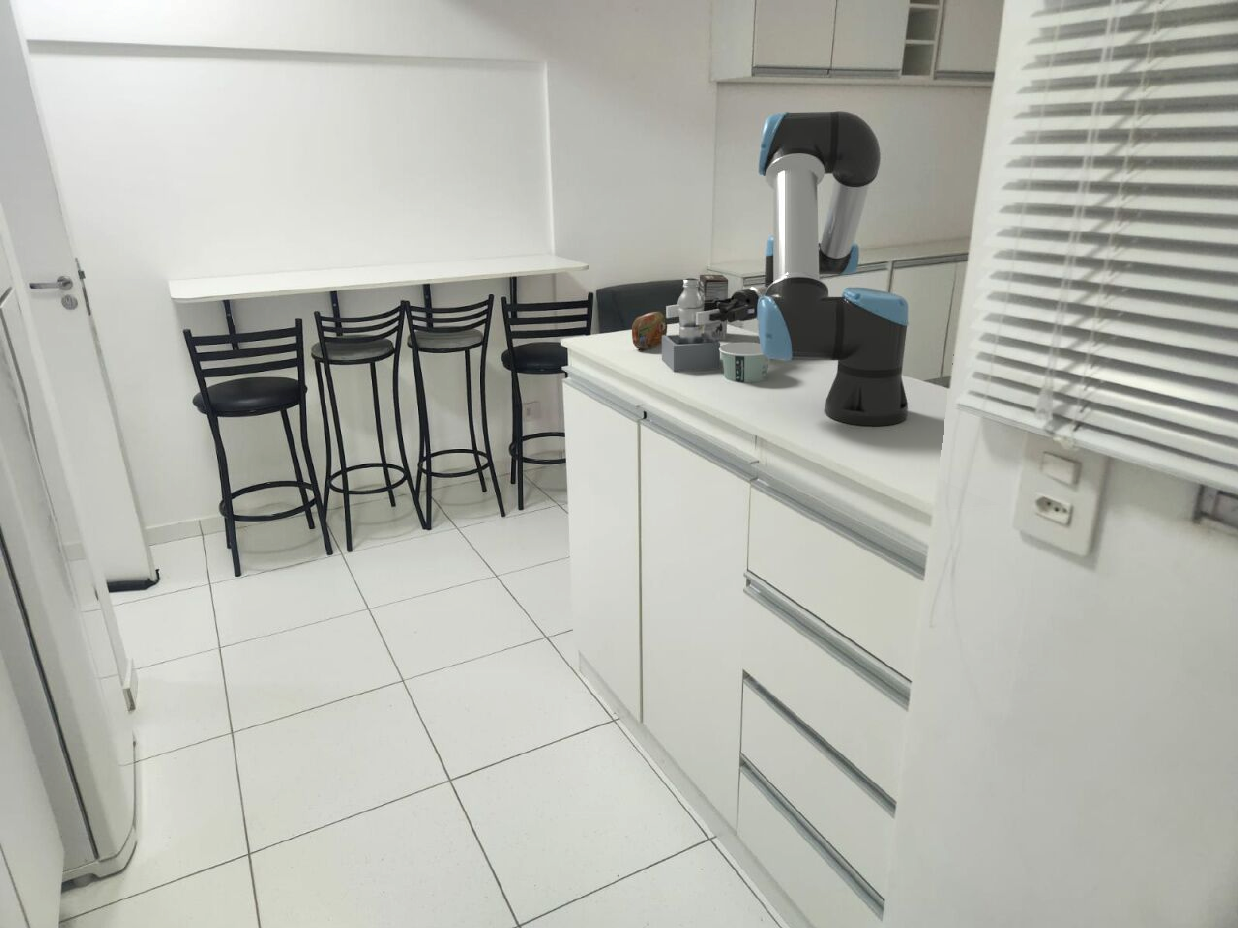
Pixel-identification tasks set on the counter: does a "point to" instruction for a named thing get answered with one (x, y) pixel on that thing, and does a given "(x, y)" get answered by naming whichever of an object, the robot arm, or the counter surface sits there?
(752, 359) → the food container
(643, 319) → the tin
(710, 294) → the coffee box
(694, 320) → the plastic bottle
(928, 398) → the counter surface
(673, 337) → the bottle holder
